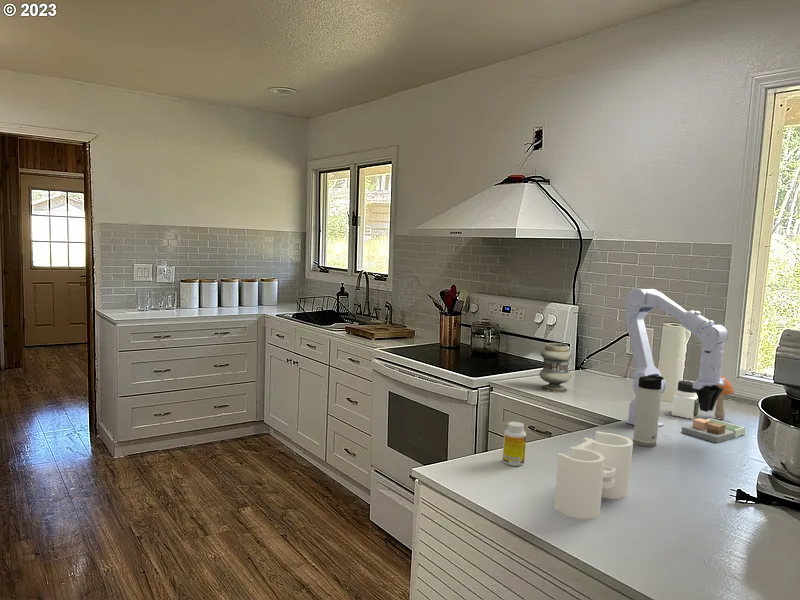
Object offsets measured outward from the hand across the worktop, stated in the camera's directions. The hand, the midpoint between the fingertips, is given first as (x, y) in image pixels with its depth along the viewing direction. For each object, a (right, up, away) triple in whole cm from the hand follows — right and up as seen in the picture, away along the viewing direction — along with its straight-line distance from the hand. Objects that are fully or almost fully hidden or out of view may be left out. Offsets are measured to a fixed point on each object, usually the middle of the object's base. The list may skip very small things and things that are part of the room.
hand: (706, 410), depth 181 cm
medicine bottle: (+7, -7, +30) cm, 31 cm away
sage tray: (+11, -9, +12) cm, 19 cm away
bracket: (-48, -12, -46) cm, 68 cm away
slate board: (+4, -9, +7) cm, 12 cm away
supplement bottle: (-62, -9, -26) cm, 68 cm away
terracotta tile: (+3, -7, +8) cm, 11 cm away
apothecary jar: (-31, -3, +59) cm, 66 cm away
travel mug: (-20, -9, -4) cm, 22 cm away
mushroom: (+18, -8, +27) cm, 33 cm away
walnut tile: (+5, -8, +5) cm, 10 cm away
